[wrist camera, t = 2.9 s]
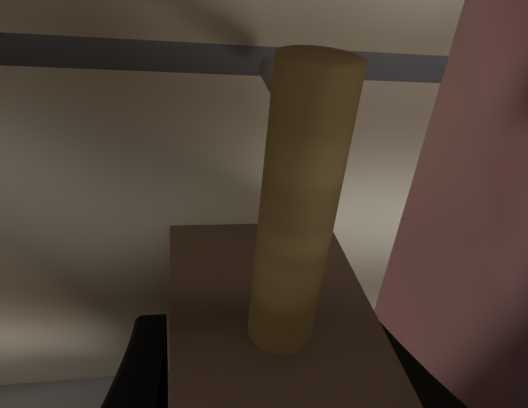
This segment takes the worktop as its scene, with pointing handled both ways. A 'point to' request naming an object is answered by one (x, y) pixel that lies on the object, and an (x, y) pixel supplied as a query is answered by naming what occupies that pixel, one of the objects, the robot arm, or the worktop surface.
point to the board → (173, 157)
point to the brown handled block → (284, 267)
